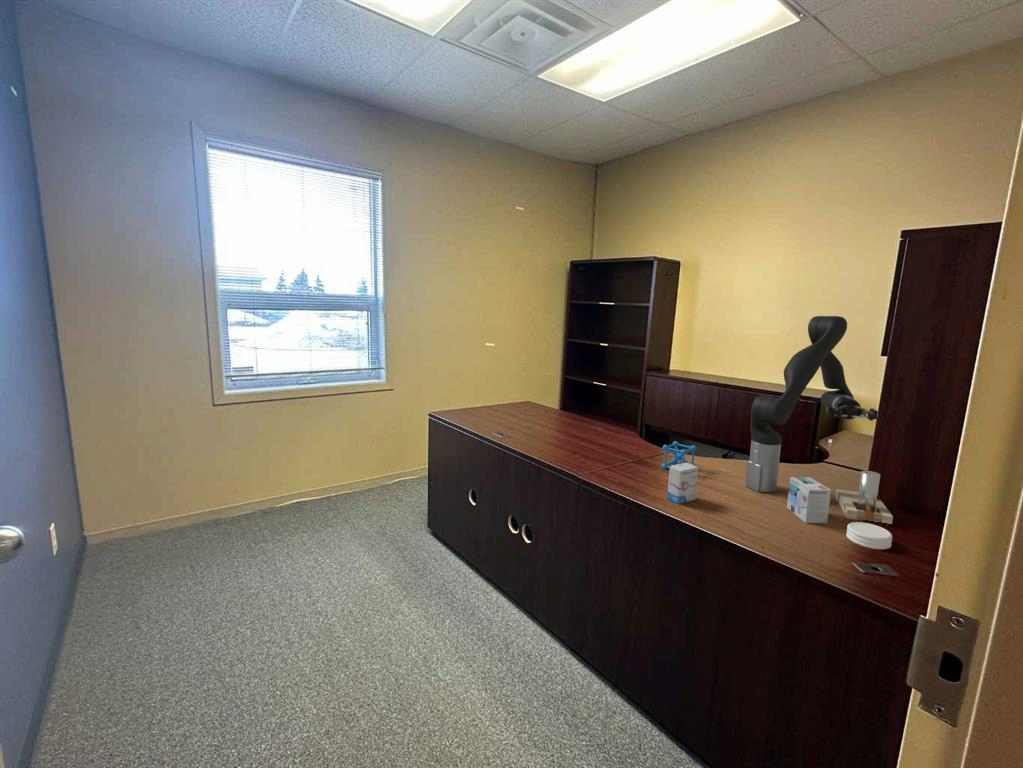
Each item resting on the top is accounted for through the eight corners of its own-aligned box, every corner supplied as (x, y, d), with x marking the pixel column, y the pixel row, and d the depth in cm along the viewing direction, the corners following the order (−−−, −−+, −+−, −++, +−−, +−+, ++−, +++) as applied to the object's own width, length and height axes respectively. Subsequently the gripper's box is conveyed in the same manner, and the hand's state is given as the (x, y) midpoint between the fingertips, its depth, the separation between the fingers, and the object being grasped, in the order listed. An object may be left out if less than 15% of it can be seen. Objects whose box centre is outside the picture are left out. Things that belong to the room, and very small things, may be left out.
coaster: (871, 532, 134) (872, 521, 133) (900, 550, 124) (902, 538, 124) (837, 532, 134) (838, 521, 133) (864, 550, 124) (866, 538, 123)
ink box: (678, 504, 152) (680, 470, 150) (666, 499, 156) (668, 465, 154) (696, 499, 156) (698, 466, 154) (684, 494, 160) (686, 461, 158)
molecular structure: (683, 475, 178) (685, 450, 177) (660, 468, 186) (661, 444, 184) (696, 469, 185) (697, 445, 183) (673, 463, 192) (674, 440, 191)
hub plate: (891, 526, 137) (893, 516, 137) (846, 518, 142) (847, 509, 141) (875, 503, 153) (876, 494, 153) (835, 497, 158) (836, 488, 157)
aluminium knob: (877, 522, 140) (883, 478, 137) (858, 519, 141) (864, 475, 139) (872, 514, 145) (878, 472, 142) (854, 511, 147) (859, 469, 144)
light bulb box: (785, 508, 150) (789, 476, 148) (807, 508, 149) (810, 476, 148) (805, 523, 139) (809, 489, 137) (828, 523, 139) (832, 489, 137)
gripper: (823, 395, 172) (832, 403, 157) (871, 398, 165) (884, 407, 151) (821, 415, 173) (829, 425, 158) (868, 419, 167) (881, 429, 152)
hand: (856, 416), depth 155 cm, fingers open, 8 cm apart
